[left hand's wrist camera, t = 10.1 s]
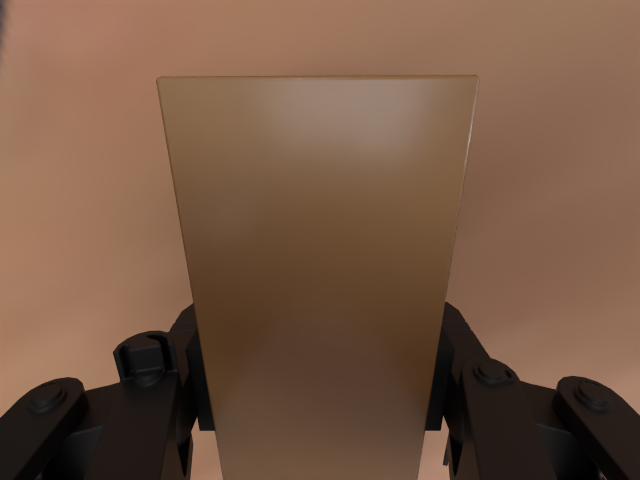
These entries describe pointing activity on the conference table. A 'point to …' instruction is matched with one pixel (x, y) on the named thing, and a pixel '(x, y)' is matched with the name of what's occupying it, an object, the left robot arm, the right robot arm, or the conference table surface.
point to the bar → (319, 260)
